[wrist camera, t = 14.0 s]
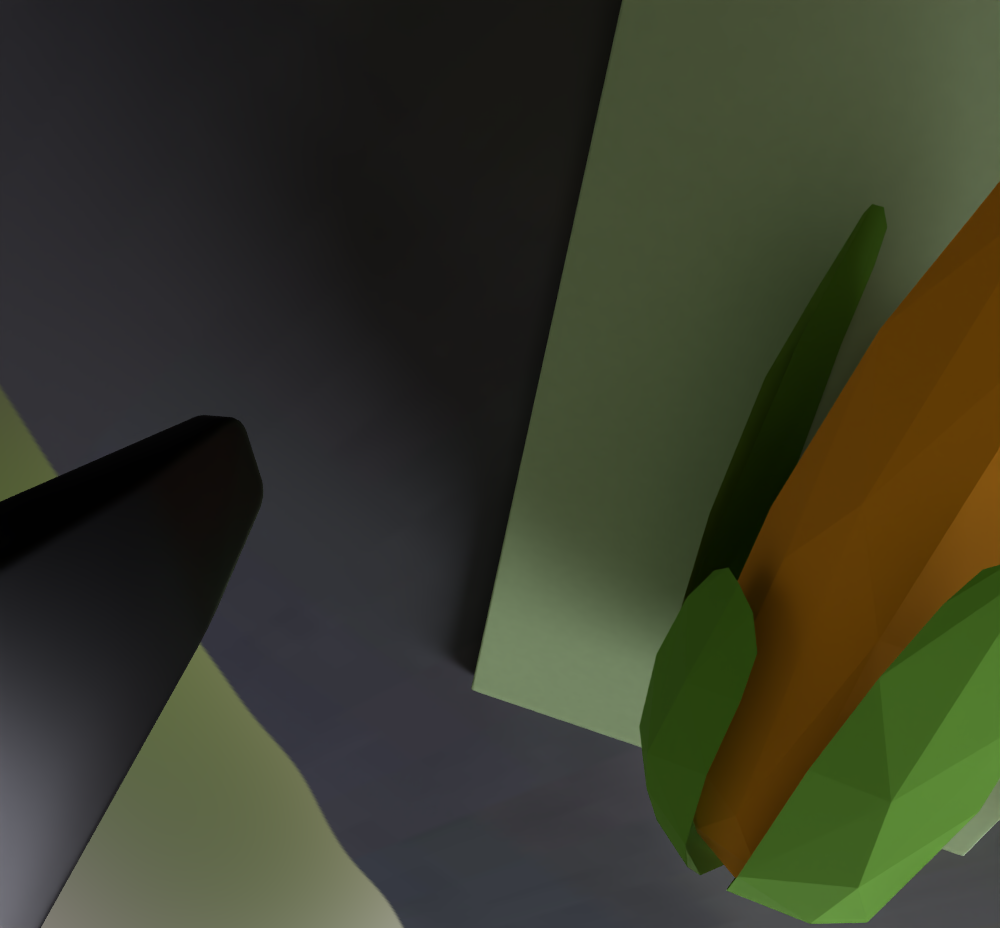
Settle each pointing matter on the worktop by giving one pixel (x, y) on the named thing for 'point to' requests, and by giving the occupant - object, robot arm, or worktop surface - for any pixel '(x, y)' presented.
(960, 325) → the corn
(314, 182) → the worktop surface
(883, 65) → the mat
